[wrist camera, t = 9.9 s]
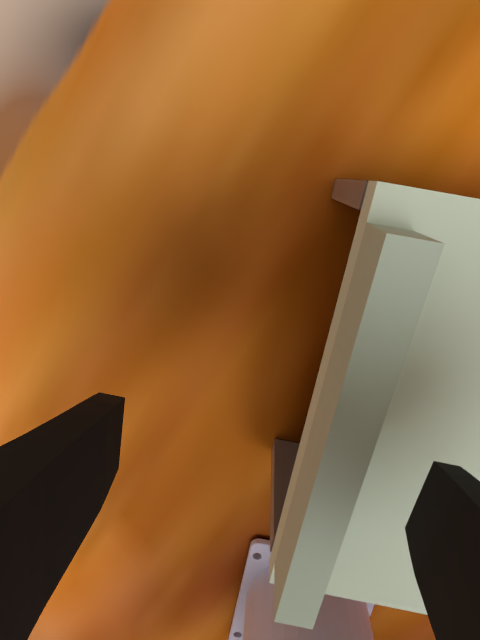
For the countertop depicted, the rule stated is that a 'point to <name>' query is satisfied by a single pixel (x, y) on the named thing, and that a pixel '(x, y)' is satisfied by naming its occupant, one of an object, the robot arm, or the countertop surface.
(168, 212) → the countertop surface
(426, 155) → the countertop surface
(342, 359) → the lid
